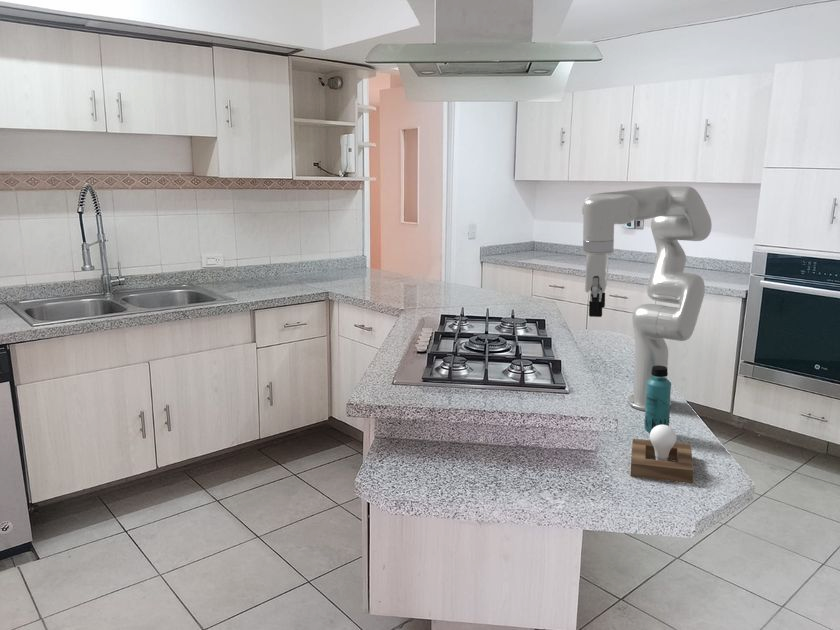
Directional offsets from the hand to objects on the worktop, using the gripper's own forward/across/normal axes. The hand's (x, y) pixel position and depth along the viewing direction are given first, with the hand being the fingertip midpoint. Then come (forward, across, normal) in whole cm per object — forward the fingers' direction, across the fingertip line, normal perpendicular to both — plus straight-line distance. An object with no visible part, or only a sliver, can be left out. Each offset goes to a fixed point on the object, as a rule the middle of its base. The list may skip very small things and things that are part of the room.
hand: (597, 311), depth 166 cm
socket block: (+36, +12, +17) cm, 42 cm away
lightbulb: (+36, +12, +17) cm, 42 cm away
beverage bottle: (+36, -6, +16) cm, 40 cm away
